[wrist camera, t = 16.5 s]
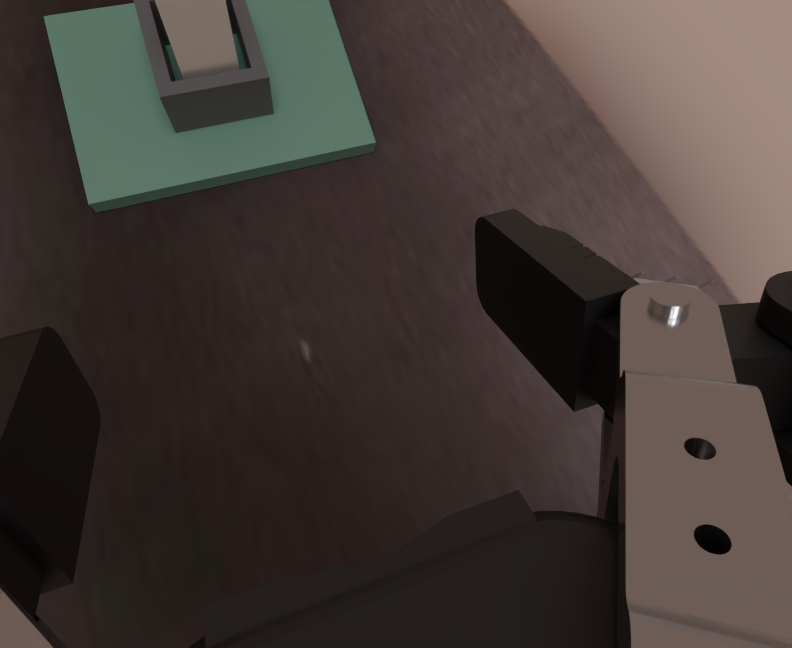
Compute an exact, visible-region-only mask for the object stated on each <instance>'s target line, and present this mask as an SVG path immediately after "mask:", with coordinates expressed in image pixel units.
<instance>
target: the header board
mask: <svg viewBox="0 0 792 648" xmlns="http://www.w3.org/2000/svg"><path fill="white" fill-rule="evenodd" d="M133 1H134V3H131V4H124V5H117V6H110V7H104V8H97V9H90V10H83V11H77V12H70V13H63V14H56V15H50V16H44V20H45V24H46V28H47V32H48V36H49V41H50V45H51V49H52V53H53V57H54V62H55V66H56V70H57V74H58V78H59V83H60V87H61V91H62V95H63V99H64V103H65V108H66V112H67V116H68V120H69V124H70V129H71V133H72V137H73V141H74V145H75V150H76V154H77V158H78V162H79V166H80V171H81V175H82V179H83V183H84V187H85V192H86V196H87V200H88V204H89V205H90V206H91V207H92V208H93V209H94V211H95V212H96V213H97V212H102V211H106V210H111V209H116V208H120V207H125V206H129V205H134V204H138V203H143V202H148V201H152V200H157V199H161V198H166V197H170V196H175V195H180V194H184V193H189V192H193V191H198V190H202V189H207V188H211V187H216V186H221V185H225V184H230V183H234V182H239V181H243V180H248V179H253V178H257V177H262V176H266V175H271V174H275V173H280V172H285V171H289V170H294V169H298V168H303V167H307V166H312V165H317V164H321V163H326V162H330V161H335V160H339V159H344V158H349V157H353V156H358V155H362V154H367V153H371V152H374V149H375V144H376V142H375V139H374V136H373V133H372V130H371V127H370V124H369V121H368V118H367V115H366V112H365V109H364V106H363V103H362V100H361V97H360V94H359V91H358V88H357V85H356V82H355V79H354V76H353V73H352V70H351V67H350V64H349V61H348V58H347V55H346V52H345V49H344V46H343V43H342V40H341V37H340V34H339V31H338V28H337V25H336V22H335V19H334V16H333V13H332V10H331V7H330V4H329V1H328V0H226V5H227V10H228V15H229V20H230V25H231V30H232V35H233V39H234V44H235V49H236V54H237V59H238V64H239V69H240V70H235V71H230V72H224V73H219V74H213V75H207V76H202V77H196V78H190V79H185V80H184V79H183V76H182V74H181V71H180V68H179V65H178V63H177V60H176V57H175V55H174V52H173V49H172V46H171V44H170V41H169V38H168V35H167V33H166V30H165V27H164V24H163V22H162V19H161V16H160V14H159V11H158V8H157V5H156V3H155V0H133Z"/></svg>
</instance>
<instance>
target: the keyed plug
mask: <svg viewBox="0 0 792 648" xmlns="http://www.w3.org/2000/svg"><path fill="white" fill-rule="evenodd" d="M155 3H156V5H157V8H158V11H159V14H160V16H161V19H162V22H163V24H164V27H165V30H166V33H167V35H168V38H169V41H170V44H171V46H172V49H173V52H174V55H175V57H176V60H177V63H178V65H179V68H180V71H181V74H182V76H183V79H184V80H185V79H190V78H196V77H202V76H207V75H213V74H219V73H224V72H230V71H235V70H240V69H239V64H238V59H237V54H236V49H235V44H234V39H233V35H232V30H231V25H230V20H229V15H228V10H227V5H226V0H155Z"/></svg>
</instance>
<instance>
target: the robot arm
mask: <svg viewBox="0 0 792 648" xmlns="http://www.w3.org/2000/svg"><path fill="white" fill-rule="evenodd" d="M475 250H476V283H477V292H478V296H479V299H480V302H481V304H482V307H483V309H484V310H485V312H486V313H487V314H488V316H489V317H490V318H491V319H492V320H493V321H494V322H495V323H496V325H497V326H498V327H499V328H500V329H501V330H502V331H503V332H504V334H505V335H506V336H507V337H508V338H509V339H510V340H511V341H512V343H513V344H514V345H515V346H516V347H517V348H518V349H519V350H520V352H521V353H522V354H523V355H524V356H525V357H526V358H527V359H528V361H529V362H530V363H531V364H532V365H533V366H534V367H535V368H536V370H537V371H538V372H539V373H540V374H541V375H542V376H543V377H544V379H545V380H546V381H547V382H548V383H549V384H550V385H551V386H552V388H553V389H554V390H555V391H556V392H557V393H558V394H559V395H560V397H561V398H562V399H563V400H564V401H565V402H566V403H567V404H568V406H569V407H570V408H571V409H572V410H573V411H574V412H575V411H578V410H581V409H584V408H587V407H590V406H593V405H596V404H599V405H600V406H601V407H602V408H603V409H604V413H603V420H602V432H601V454H600V476H599V498H598V513H597V517H595V516H590V515H585V514H581V513H573V512H564V511H536V512H532V510H531V509H530V507H529V506H528V504H527V503H526V501H525V500H524V498H523V497H522V495H521V493H520V492H519V490H517V491H514V492H512V493H509V494H506V495H504V496H501V497H498V498H495V499H493V500H490V501H487V502H485V503H482V504H479V505H476V506H474V507H471V508H468V509H466V510H463V511H460V512H458V513H455V514H452V515H449V516H447V517H446V518H444V519H443V520H441V521H440V522H438V523H437V524H435V525H434V526H433V527H431V528H430V529H428V530H427V531H425V532H424V533H422V534H421V535H419V536H418V537H416V538H415V539H413V540H412V541H410V542H409V543H408V544H406V545H405V546H403V547H402V548H400V549H399V550H397V551H396V552H394V553H393V554H391V555H390V556H388V557H387V558H385V559H384V560H382V561H380V562H378V563H376V564H372V565H367V566H359V567H351V568H342V569H334V570H326V571H318V572H310V573H301V574H293V575H287V576H284V577H282V578H279V579H276V580H274V581H271V582H268V583H265V584H263V585H260V586H257V587H255V588H252V589H249V590H247V591H244V592H241V593H238V594H236V595H233V596H230V597H228V598H225V599H222V600H220V601H217V602H214V603H211V604H209V605H206V606H204V629H205V636H204V637H203V638H201V639H200V640H198V641H197V642H195V643H194V644H192V645H191V646H190V647H189V648H792V500H791V496H790V493H789V489H788V486H787V482H788V483H789V484H790V485H791V486H792V271H788V272H783V273H780V274H777V275H775V276H773V277H771V278H770V279H769V280H768V281H767V283H766V285H765V288H764V291H763V294H762V297H761V300H760V302H759V303H745V304H732V305H719V306H718V305H717V303H716V302H715V301H714V300H713V299H712V298H711V297H710V296H708V295H707V294H705V293H704V292H702V291H700V290H698V289H695V288H692V287H690V286H686V285H682V284H677V283H670V282H650V283H643V284H640V283H638V282H637V281H635V280H634V279H633V278H631V277H630V276H628V275H627V274H625V273H624V272H622V271H621V270H619V269H618V268H616V267H615V266H614V265H612V264H611V263H609V262H608V261H606V260H605V259H603V258H602V257H600V256H599V257H597V255H596V253H595V252H593V251H592V250H590V249H589V248H587V247H583V244H582V243H580V242H579V241H577V240H576V239H574V238H573V237H571V236H570V235H568V234H567V233H565V232H561V231H558V230H555V229H552V228H549V227H546V226H539V225H537V224H536V223H534V222H533V221H532V220H530V219H529V218H527V217H526V216H525V215H523V214H522V213H520V212H519V211H518V210H516V209H511V210H507V211H503V212H499V213H495V214H491V215H487V216H483V217H480V218H478V220H477V222H476V225H475ZM99 430H100V412H99V407H98V404H97V401H96V398H95V396H94V393H93V392H92V390H91V388H90V386H89V385H88V383H87V381H86V380H85V378H84V376H83V374H82V373H81V371H80V369H79V368H78V366H77V364H76V363H75V361H74V359H73V357H72V356H71V354H70V352H69V351H68V349H67V347H66V346H65V344H64V342H63V341H62V339H61V337H60V336H59V334H58V333H57V332H56V331H55V330H54V329H53V328H51V327H43V328H39V329H35V330H31V331H27V332H23V333H19V334H15V335H12V336H8V337H4V338H0V648H67V647H66V646H65V645H64V644H63V642H62V641H61V640H60V639H59V638H58V637H57V636H56V635H55V634H54V633H53V632H52V631H51V629H50V628H49V627H48V626H47V625H46V624H45V623H44V622H43V621H42V620H41V619H40V618H39V617H38V616H37V615H36V609H37V605H38V600H39V596H40V594H42V593H45V592H48V591H51V590H54V589H57V588H60V587H63V586H66V585H69V584H71V583H73V580H74V574H75V568H76V562H77V557H78V551H79V545H80V539H81V534H82V528H83V522H84V516H85V511H86V505H87V499H88V493H89V488H90V482H91V476H92V470H93V465H94V459H95V453H96V447H97V442H98V436H99ZM786 481H787V482H786Z"/></svg>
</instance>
